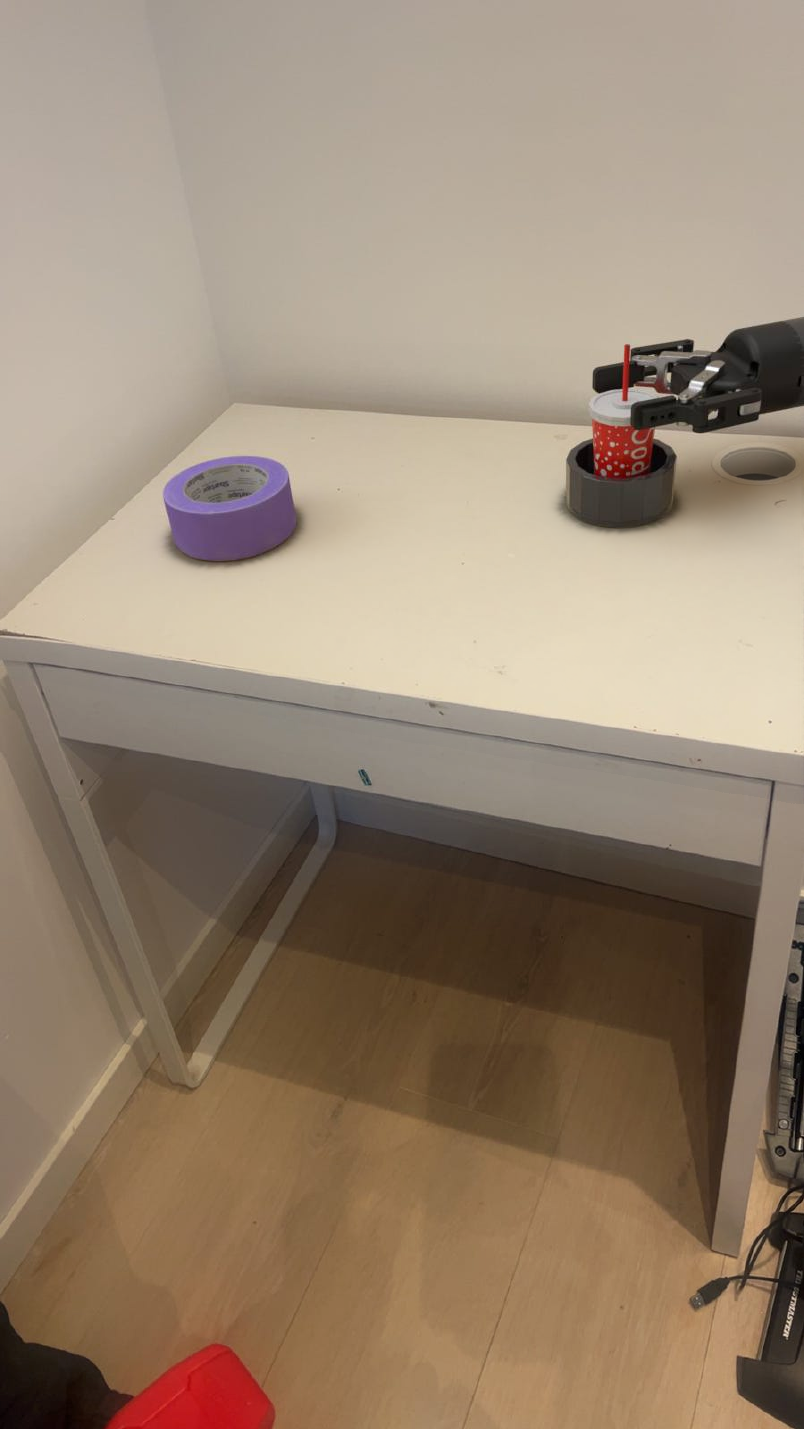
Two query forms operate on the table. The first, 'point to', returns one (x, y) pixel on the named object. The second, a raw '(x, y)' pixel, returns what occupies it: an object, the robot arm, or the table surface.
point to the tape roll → (230, 507)
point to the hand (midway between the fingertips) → (612, 398)
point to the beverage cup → (620, 431)
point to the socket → (620, 489)
